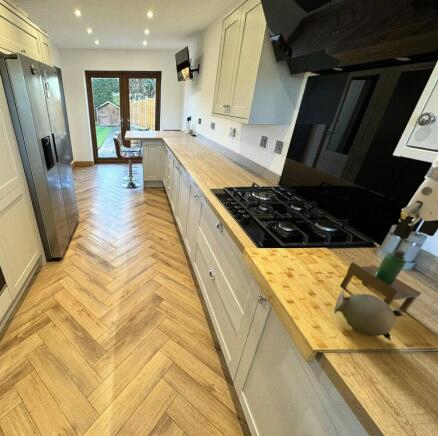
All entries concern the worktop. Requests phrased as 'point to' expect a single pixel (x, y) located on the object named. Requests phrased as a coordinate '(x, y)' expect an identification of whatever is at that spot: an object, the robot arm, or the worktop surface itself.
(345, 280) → the rack
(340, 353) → the worktop surface
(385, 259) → the bottle
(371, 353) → the worktop surface
